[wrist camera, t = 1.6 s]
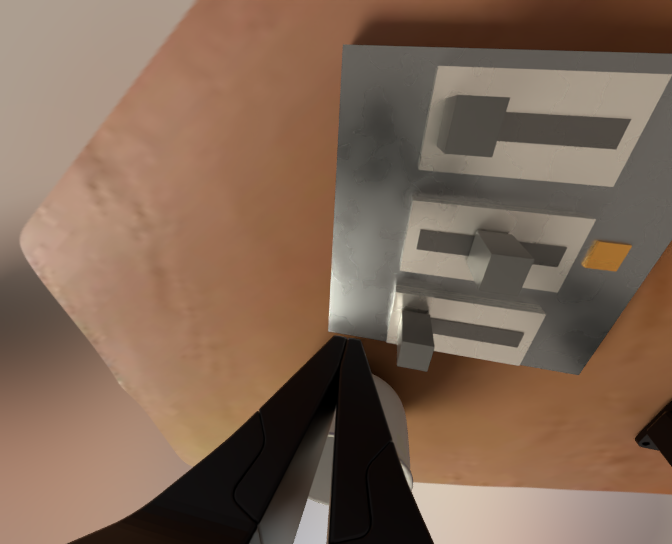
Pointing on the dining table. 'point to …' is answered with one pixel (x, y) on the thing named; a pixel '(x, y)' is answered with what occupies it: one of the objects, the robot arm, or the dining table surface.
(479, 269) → the handle
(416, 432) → the dining table surface
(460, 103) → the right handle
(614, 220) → the breaker panel
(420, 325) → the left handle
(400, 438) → the teacup
